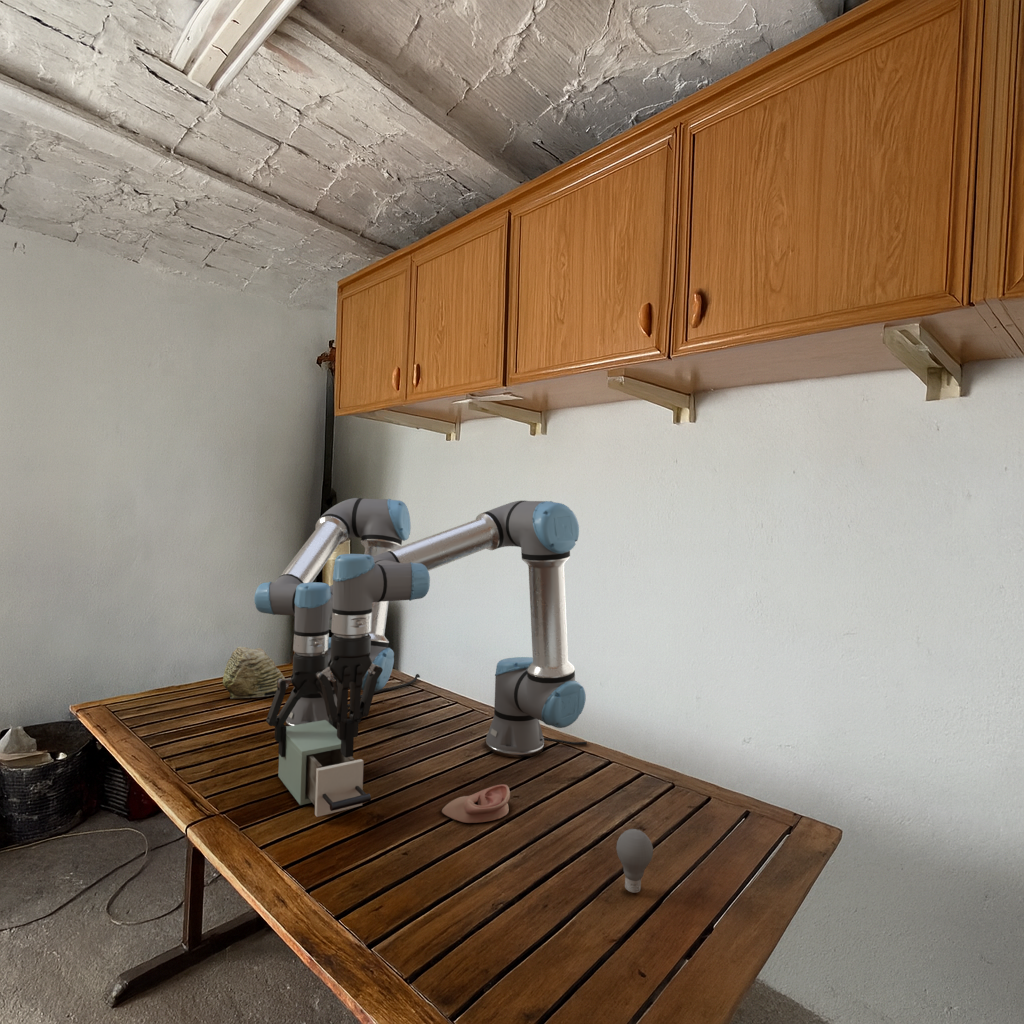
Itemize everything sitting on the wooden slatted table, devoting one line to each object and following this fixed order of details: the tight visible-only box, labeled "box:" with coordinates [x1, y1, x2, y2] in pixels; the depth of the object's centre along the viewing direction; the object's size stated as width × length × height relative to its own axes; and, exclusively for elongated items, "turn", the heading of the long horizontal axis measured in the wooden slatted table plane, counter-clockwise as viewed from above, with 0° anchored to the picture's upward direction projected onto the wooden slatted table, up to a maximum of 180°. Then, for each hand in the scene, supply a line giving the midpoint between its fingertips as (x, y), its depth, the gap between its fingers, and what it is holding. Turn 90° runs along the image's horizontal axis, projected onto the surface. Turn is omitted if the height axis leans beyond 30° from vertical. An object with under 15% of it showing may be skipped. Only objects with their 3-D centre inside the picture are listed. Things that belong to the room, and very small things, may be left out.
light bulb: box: [615, 828, 654, 894], centre depth 106 cm, size 6×6×10 cm
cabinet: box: [277, 720, 341, 806], centre depth 139 cm, size 16×10×11 cm, turn 36°
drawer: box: [305, 749, 372, 818], centre depth 129 cm, size 21×9×9 cm, turn 36°
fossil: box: [222, 646, 286, 699], centre depth 198 cm, size 9×18×15 cm, turn 132°
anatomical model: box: [441, 784, 511, 824], centre depth 131 cm, size 13×4×12 cm
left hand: (307, 750), depth 142 cm, fingers closed on cabinet, 10 cm apart
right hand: (346, 754), depth 123 cm, fingers closed
